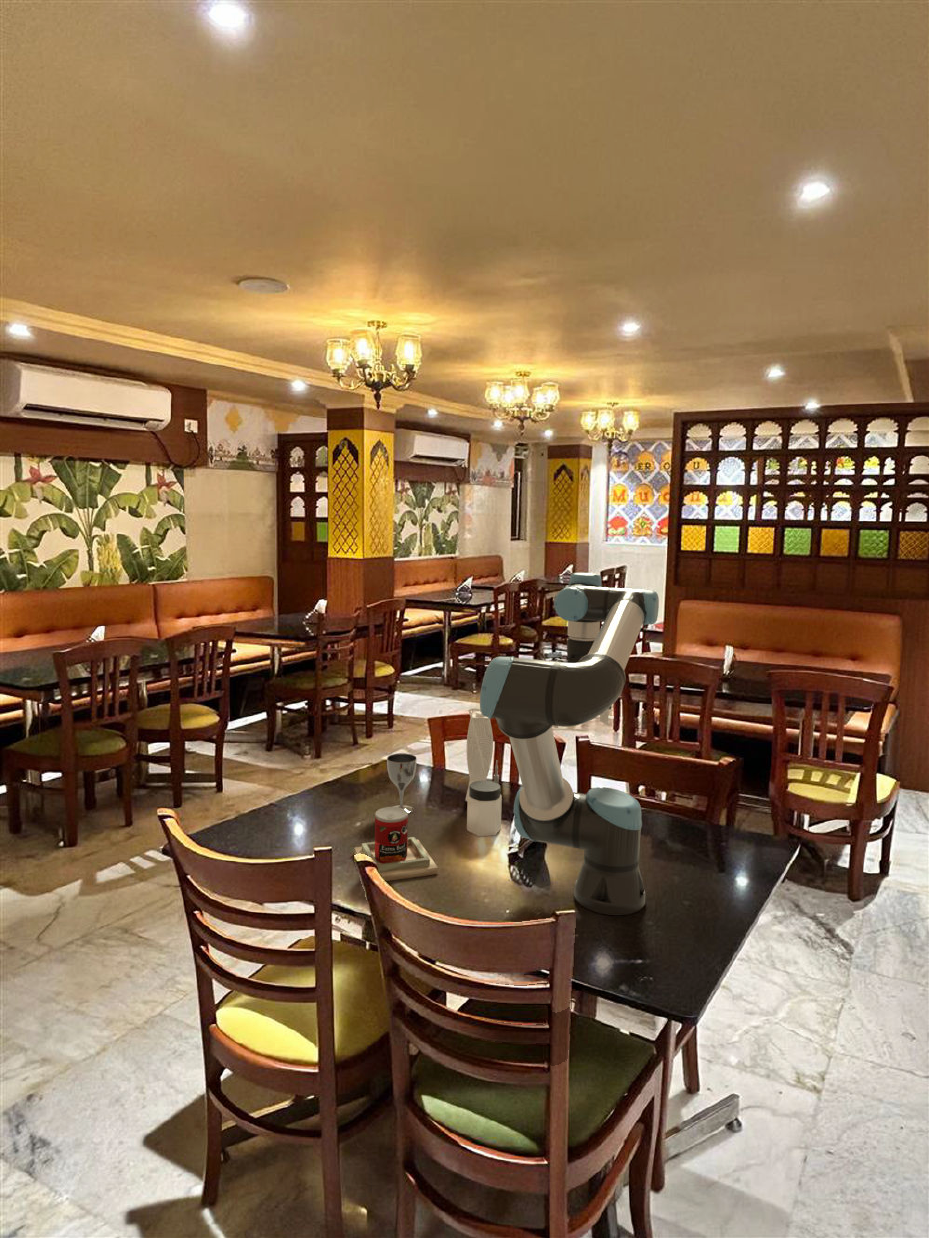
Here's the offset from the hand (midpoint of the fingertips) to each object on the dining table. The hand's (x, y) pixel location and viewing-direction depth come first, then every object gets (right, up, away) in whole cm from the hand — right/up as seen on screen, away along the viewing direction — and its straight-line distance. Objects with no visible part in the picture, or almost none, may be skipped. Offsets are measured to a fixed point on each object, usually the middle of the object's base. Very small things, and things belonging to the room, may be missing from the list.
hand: (579, 724), depth 195 cm
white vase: (-24, -27, +34) cm, 50 cm away
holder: (-44, -32, -6) cm, 55 cm away
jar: (-23, -30, +15) cm, 40 cm away
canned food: (-45, -31, -6) cm, 55 cm away
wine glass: (-45, -27, +27) cm, 59 cm away
